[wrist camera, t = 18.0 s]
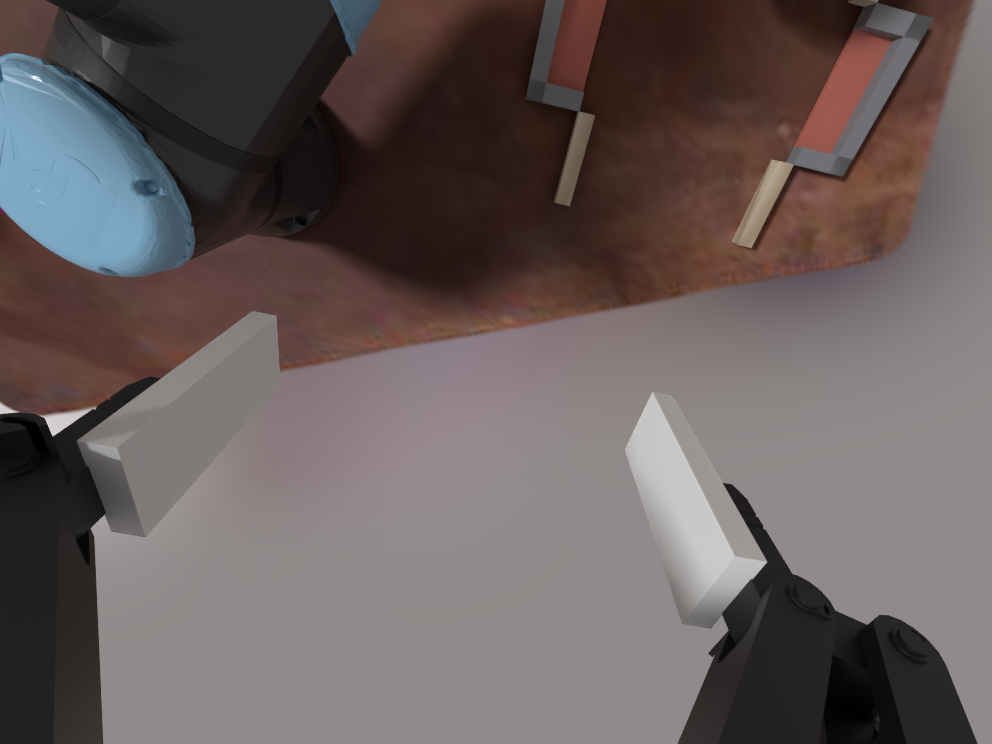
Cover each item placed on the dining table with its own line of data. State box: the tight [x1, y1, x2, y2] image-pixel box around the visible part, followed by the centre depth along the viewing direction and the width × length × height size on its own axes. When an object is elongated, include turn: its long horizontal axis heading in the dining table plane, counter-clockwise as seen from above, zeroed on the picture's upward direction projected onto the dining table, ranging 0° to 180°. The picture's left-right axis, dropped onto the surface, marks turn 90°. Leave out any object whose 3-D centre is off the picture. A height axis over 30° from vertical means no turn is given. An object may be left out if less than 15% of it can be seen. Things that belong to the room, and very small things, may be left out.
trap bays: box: [526, 0, 933, 177], centre depth 37 cm, size 31×12×2 cm, turn 78°
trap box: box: [554, 0, 878, 248], centre depth 34 cm, size 21×32×6 cm, turn 168°
